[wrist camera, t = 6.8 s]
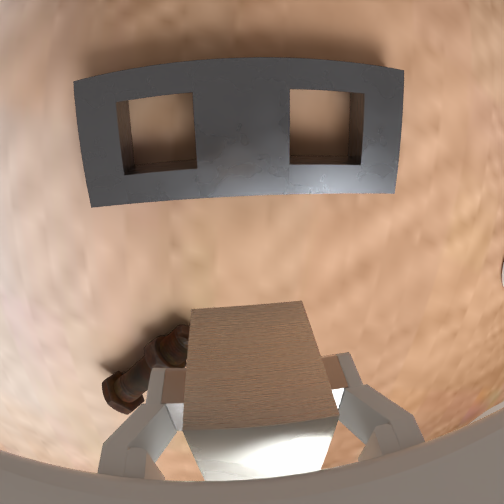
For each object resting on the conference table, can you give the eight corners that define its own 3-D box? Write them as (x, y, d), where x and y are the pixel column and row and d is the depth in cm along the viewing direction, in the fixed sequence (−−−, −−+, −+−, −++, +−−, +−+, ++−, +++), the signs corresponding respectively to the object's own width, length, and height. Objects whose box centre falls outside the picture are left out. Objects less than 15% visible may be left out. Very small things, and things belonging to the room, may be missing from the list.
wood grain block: (301, 300, 12) (339, 415, 7) (296, 371, 14) (319, 470, 9) (191, 309, 11) (182, 430, 7) (205, 378, 13) (205, 481, 9)
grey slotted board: (386, 70, 22) (404, 70, 19) (379, 182, 27) (394, 193, 24) (89, 80, 21) (73, 81, 18) (104, 194, 26) (91, 207, 23)
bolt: (198, 315, 35) (129, 376, 39) (164, 307, 31) (97, 373, 35) (218, 360, 32) (142, 415, 36) (182, 358, 28) (109, 416, 32)
